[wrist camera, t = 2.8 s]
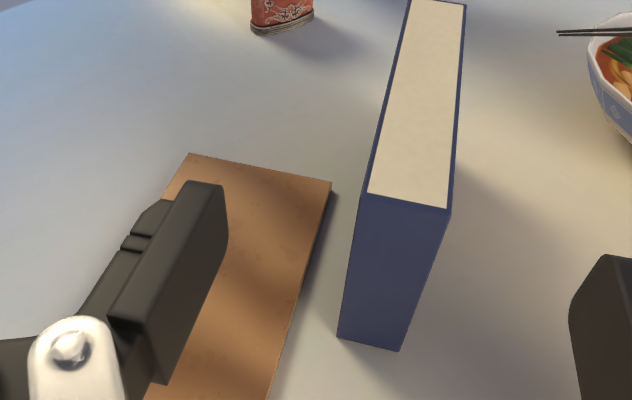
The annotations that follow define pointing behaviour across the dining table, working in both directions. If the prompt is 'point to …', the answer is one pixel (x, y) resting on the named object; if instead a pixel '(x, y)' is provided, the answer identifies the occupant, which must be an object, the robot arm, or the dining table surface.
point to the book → (406, 178)
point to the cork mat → (247, 280)
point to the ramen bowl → (612, 68)
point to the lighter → (279, 15)
